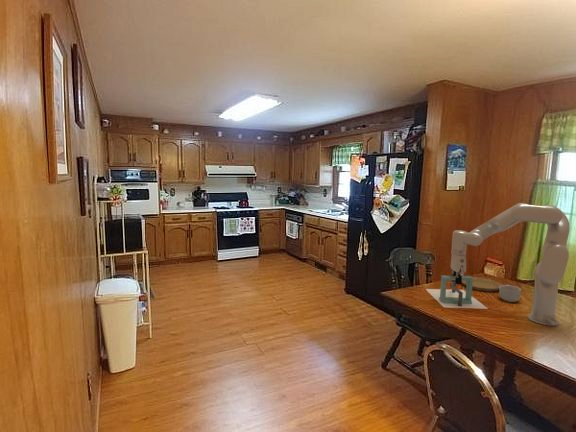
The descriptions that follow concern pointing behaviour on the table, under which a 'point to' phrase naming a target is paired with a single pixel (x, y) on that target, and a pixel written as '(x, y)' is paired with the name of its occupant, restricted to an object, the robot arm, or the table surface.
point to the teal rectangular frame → (454, 299)
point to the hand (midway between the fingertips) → (456, 282)
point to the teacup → (509, 293)
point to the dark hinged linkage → (458, 292)
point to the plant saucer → (484, 284)
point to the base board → (449, 293)
